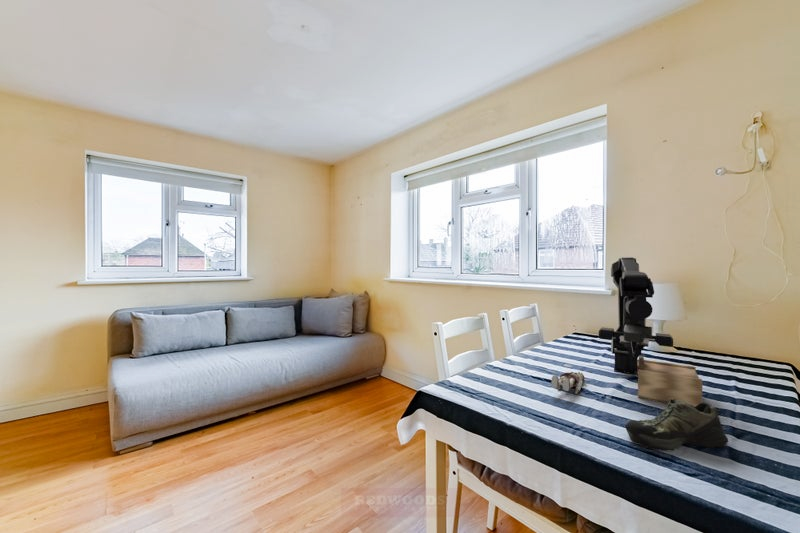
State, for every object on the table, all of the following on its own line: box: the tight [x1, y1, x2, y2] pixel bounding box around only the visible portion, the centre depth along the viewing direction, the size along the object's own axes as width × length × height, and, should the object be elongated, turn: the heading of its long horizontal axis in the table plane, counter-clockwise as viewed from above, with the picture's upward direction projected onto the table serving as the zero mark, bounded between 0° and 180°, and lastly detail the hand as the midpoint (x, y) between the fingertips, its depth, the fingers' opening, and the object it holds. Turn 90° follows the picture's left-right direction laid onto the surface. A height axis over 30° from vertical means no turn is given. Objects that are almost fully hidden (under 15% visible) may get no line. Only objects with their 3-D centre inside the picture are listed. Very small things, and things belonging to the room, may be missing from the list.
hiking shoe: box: [624, 399, 729, 452], centre depth 74 cm, size 8×21×9 cm, turn 94°
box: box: [637, 358, 703, 407], centre depth 99 cm, size 14×14×8 cm
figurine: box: [551, 371, 586, 395], centre depth 104 cm, size 6×6×20 cm
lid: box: [636, 355, 700, 379], centre depth 99 cm, size 14×12×3 cm
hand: (633, 363), depth 104 cm, fingers closed
